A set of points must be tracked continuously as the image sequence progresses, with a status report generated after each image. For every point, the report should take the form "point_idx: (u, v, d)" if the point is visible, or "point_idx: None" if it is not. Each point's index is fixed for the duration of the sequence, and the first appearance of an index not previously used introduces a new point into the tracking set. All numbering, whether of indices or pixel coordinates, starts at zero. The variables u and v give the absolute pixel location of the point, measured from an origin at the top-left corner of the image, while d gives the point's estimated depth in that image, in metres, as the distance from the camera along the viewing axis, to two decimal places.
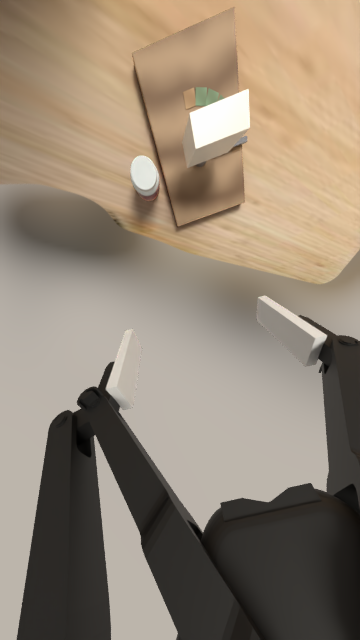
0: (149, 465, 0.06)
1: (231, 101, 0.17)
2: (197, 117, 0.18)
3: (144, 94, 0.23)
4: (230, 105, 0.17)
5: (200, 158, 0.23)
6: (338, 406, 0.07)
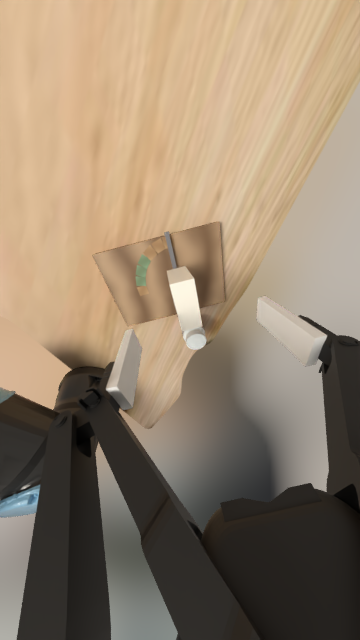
0: (149, 465, 0.06)
1: (176, 299, 0.19)
2: (184, 325, 0.21)
3: (144, 321, 0.33)
4: (178, 300, 0.19)
5: None
6: (338, 406, 0.07)
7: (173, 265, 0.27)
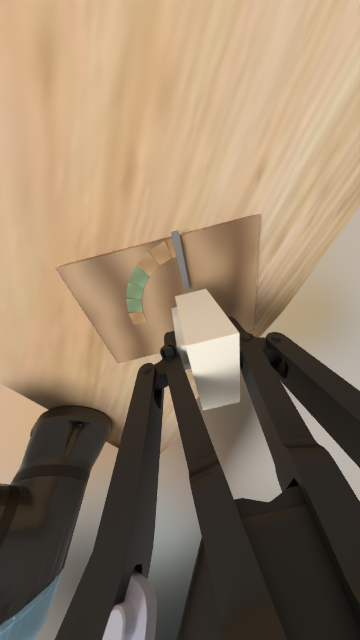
0: (205, 427, 0.07)
1: (198, 368, 0.09)
2: (208, 403, 0.11)
3: (140, 356, 0.24)
4: (202, 369, 0.09)
5: None
6: (260, 399, 0.08)
7: (184, 283, 0.17)
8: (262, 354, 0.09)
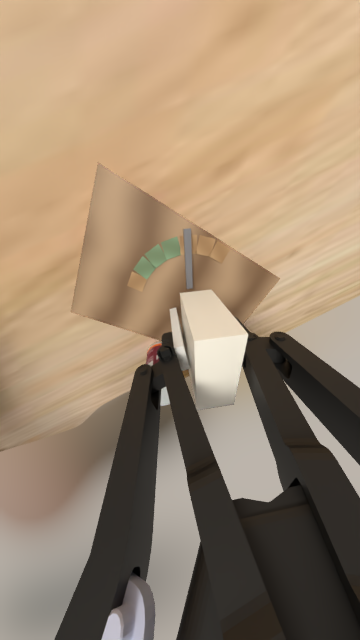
0: (203, 428, 0.07)
1: (201, 366, 0.09)
2: (203, 403, 0.11)
3: (103, 321, 0.20)
4: (205, 367, 0.09)
5: None
6: (262, 399, 0.08)
7: (188, 282, 0.17)
8: (265, 354, 0.09)
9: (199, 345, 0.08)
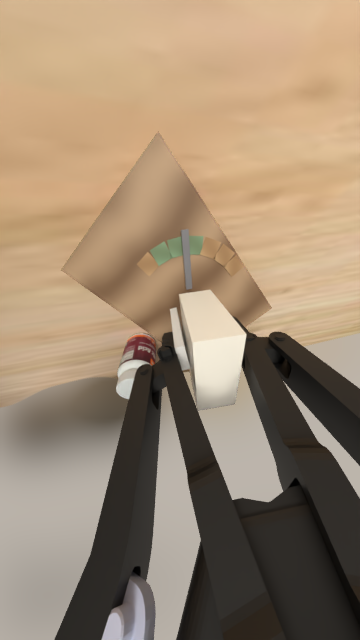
0: (203, 428, 0.07)
1: (200, 366, 0.09)
2: (204, 403, 0.11)
3: (95, 292, 0.18)
4: (205, 368, 0.09)
5: None
6: (262, 399, 0.08)
7: (187, 282, 0.17)
8: (265, 354, 0.09)
9: (197, 346, 0.08)
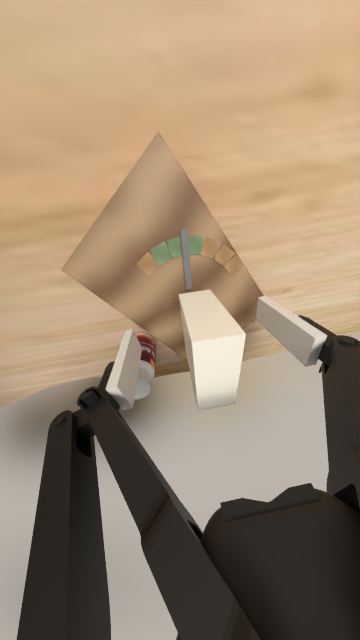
0: (149, 465, 0.06)
1: (200, 366, 0.09)
2: (204, 403, 0.11)
3: (95, 292, 0.18)
4: (204, 367, 0.09)
5: None
6: (338, 406, 0.07)
7: (187, 282, 0.17)
8: None
9: (197, 346, 0.08)
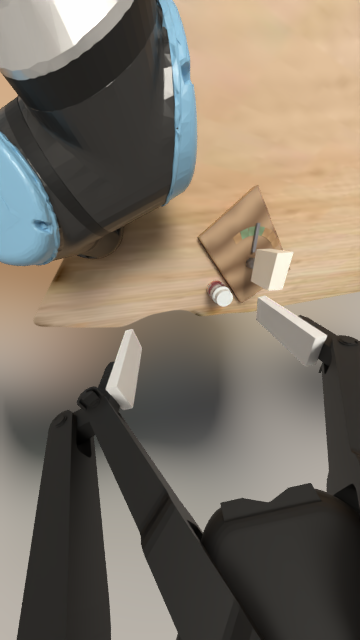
0: (149, 465, 0.06)
1: (276, 264, 0.28)
2: (271, 286, 0.30)
3: (208, 250, 0.36)
4: (277, 265, 0.28)
5: None
6: (338, 406, 0.07)
7: (254, 248, 0.36)
8: None
9: (278, 255, 0.27)
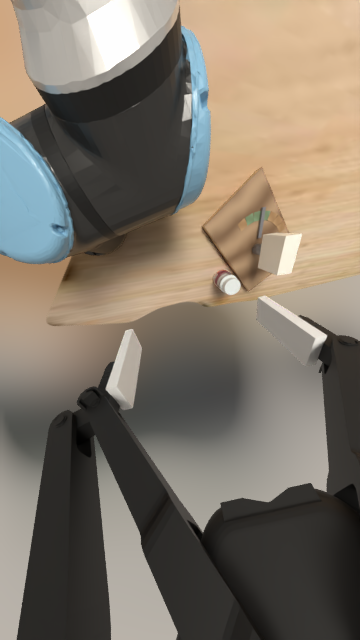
0: (149, 465, 0.06)
1: (285, 248, 0.28)
2: (280, 270, 0.30)
3: (214, 239, 0.36)
4: (286, 248, 0.28)
5: None
6: (338, 406, 0.07)
7: (259, 234, 0.36)
8: None
9: (287, 238, 0.27)
